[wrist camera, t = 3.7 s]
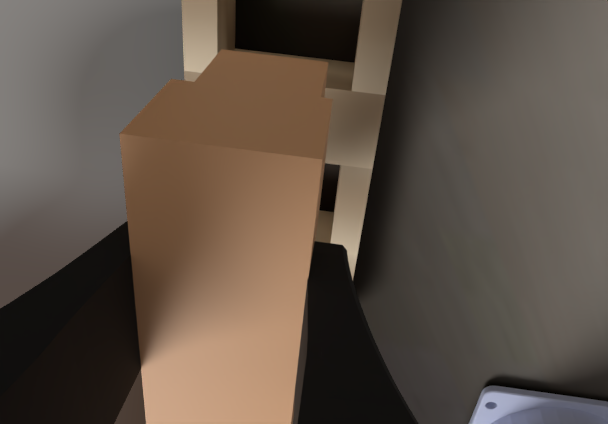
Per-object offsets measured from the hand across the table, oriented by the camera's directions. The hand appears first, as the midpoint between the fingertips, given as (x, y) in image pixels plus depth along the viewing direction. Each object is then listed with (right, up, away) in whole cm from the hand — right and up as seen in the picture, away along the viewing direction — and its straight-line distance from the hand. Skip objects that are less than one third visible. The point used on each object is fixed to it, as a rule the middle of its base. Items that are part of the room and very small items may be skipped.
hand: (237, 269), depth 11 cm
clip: (0, +2, +4) cm, 4 cm away
